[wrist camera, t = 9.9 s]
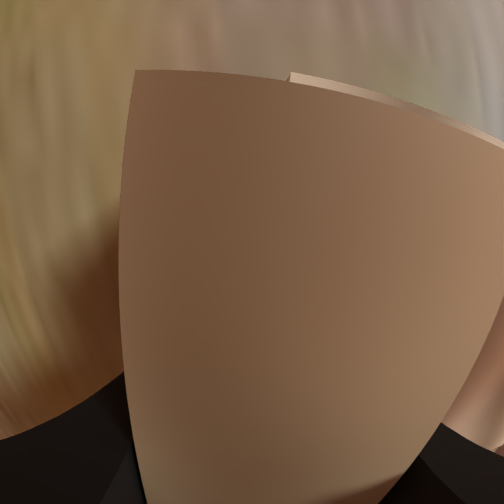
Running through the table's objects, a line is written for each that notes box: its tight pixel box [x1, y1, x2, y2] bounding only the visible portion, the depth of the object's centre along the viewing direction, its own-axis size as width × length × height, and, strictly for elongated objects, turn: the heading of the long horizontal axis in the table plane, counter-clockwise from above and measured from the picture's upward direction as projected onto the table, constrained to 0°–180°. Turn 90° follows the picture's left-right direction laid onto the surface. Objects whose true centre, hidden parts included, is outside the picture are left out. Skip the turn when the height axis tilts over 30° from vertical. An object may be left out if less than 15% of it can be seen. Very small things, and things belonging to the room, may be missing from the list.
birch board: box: [287, 72, 504, 450], centre depth 11 cm, size 18×16×2 cm
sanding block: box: [118, 70, 504, 504], centre depth 7 cm, size 4×12×6 cm, turn 172°
